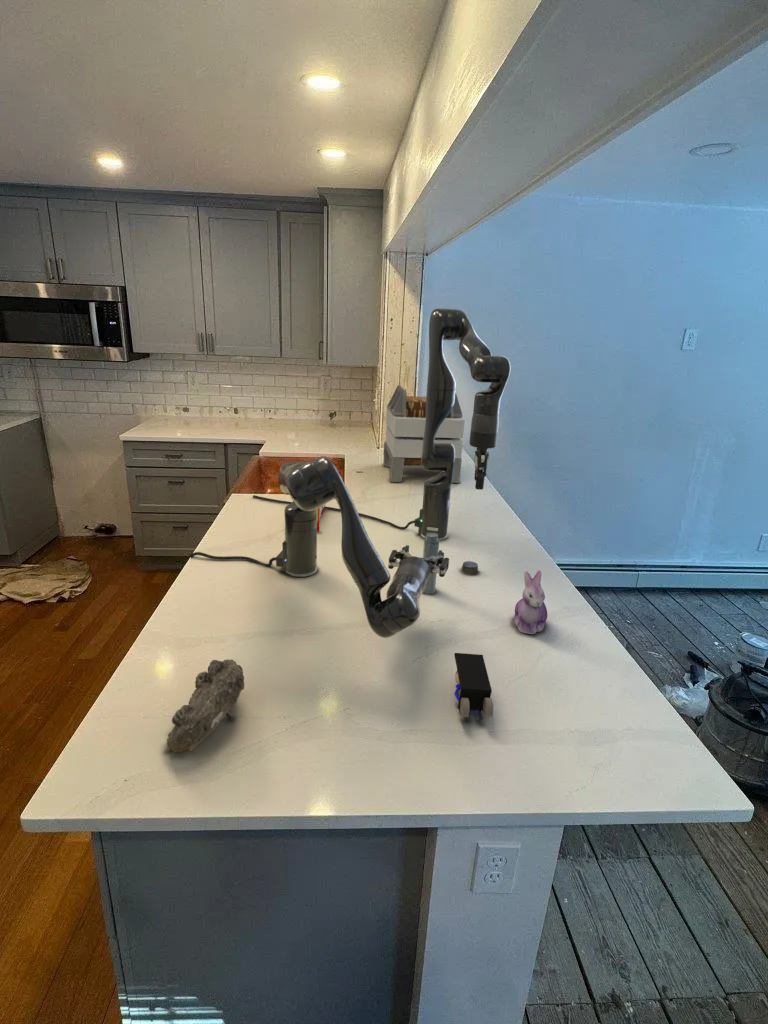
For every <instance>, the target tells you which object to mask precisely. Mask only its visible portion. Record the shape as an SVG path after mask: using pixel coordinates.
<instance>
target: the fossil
mask: <svg viewBox="0 0 768 1024" xmlns="http://www.w3.org/2000/svg"><path fill="white" fill-rule="evenodd" d="M243 670H244V669H243V667H242V665H240V664H237V662H236V661H235V660H234V659H232V658H231V659H227V658H226V659H224V660H223V661H222V660H217V659H212V660H211V661H210V663H209V665H208V666H207V671H201V672H199V673H198V674H197V675H196V676H195V680H194V684H195V685H194V687H195V689H194V690H193V693H192V694H191V697H190V698H189V700H188V704H184V705H182V706H181V707H180V709H177V710H176V711H175V713H174V715H173V716H172V718H171V723H172V724H173V727H172V730H171V731H170V732H168V734H167V738H166V741H167V742H166V745H167V749H168V750H169V751H173V752H174V753H176V754H178V753H182V752H188V751H189V752H192V751H193V750H195V748H196V747H197V746H199V744H200V743H201V742H203V741H204V740H205V739H206V738H207V737H208V736H209V735H210V734H211V733H212V732H214V730H215V729H217V727H218V726H219V724H220V722H221V721H222V720H223V719H224V718H225V716H226V717H227V719H229V720H233V717H232V715H230V714H229V710H230V709H231V708H234V706H235V704H236V703H237V702H238V699H239V697H240V695H241V693H242V691H243V690H245V689H244V688H245V675H244V671H243Z"/></svg>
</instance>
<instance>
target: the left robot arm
mask: <svg viewBox="0 0 768 1024" xmlns="http://www.w3.org/2000/svg"><path fill="white" fill-rule="evenodd" d="M278 485H279V489H280V491H281V493H282V494H284V495H286V496H290V498H291V500H292V502H293V501H294V502H293V503H291V504H286V505H285V508H284V540H283V541H282V544H281V545H282V546H281V547H282V548H281V549H282V550H281V551H280V552H279V553H278V554H277V555H276V556H275V557H271V558H270V559H269V561H268V563H264V562H261V561H260V560H258V559H256V558H252V557H249V556H239V555H238V556H237V555H233V556H232V555H231V556H219V555H218V556H216V555H211V554H208V553H205V552H201V551H195V552H192V553H190V554H189V555H188V558H193V557H195V556H202V557H204V558H208V559H210V560H218V561H219V560H222V561H223V560H243V561H244V560H245V561H250V562H252V563H254V564H257V565H261V566H263V567H265V568H266V567H268V568H269V567H271V566H272V565H273V562H274V561H275V567H277V568H278V567H279V568H282V572H283V573H285V574H287V575H289V576H290V577H291V576H292V577H297V578H298V577H299V578H305V577H310V576H313V575H315V574H316V573H317V572H318V550H317V549H318V538H317V537H318V532H317V508H319V507H321V506H322V505H324V504H326V505H327V504H328V503H330V502H332V501H333V500H335V501H336V503H337V506H338V509H340V511H339V512H340V517H341V546H340V547H341V557H342V561H343V564H344V566H345V568H346V569H347V571H348V574H349V575H350V576H351V578H352V580H353V582H354V583H355V586H356V588H357V589H358V591H359V594H360V597H361V602H362V604H363V609H364V611H365V617H366V619H367V622H368V623H367V624H368V626H369V627H370V629H371V630H372V632H373V633H374V634H375V635H377V636H378V637H380V638H382V639H388V638H391V637H392V636H394V635H396V634H398V633H400V632H402V631H403V630H406V629H407V628H408V627H409V628H410V627H411V626H412V625H414V624H415V623H416V622H417V621H418V620H419V618H420V616H421V609H420V598H421V596H422V594H424V593H423V591H424V589H425V588H426V584H427V582H428V579H429V577H430V575H431V574H432V573H433V572H434V573H437V574H438V576H439V577H440V578H444V577H445V575H446V574H447V572H448V569H449V564H450V558H449V557H445V552H444V551H443V550H441V549H439V551H438V555H437V556H436V557H433V556H430V557H427V558H423V557H419V556H414V555H412V554H411V553H410V545H409V544H405V546H403V547H402V548H401V549H400V550H399V551H398V550H397V549H392V550H391V553H390V555H389V557H388V565H387V567H386V564H385V563H384V561H383V560H382V558H381V556H380V555H379V552H378V551H377V550H376V548H375V546H374V544H373V543H372V541H371V538H370V537H369V535H368V532H367V530H366V527H365V526H364V523H363V521H362V519H361V516H360V515H359V514H358V513H359V512H358V509H357V507H356V505H355V503H354V500H353V498H352V495H351V494H350V492H349V490H348V488H347V486H346V483H345V482H344V480H343V478H342V476H341V474H340V472H339V470H338V468H337V467H336V466H335V464H334V463H333V462H332V460H331V459H330V458H329V457H327V456H324V455H323V456H319V457H317V458H314V459H313V460H310V461H293V462H292V461H288V462H284V463H282V464H281V466H280V468H279V469H278ZM436 561H437V563H436ZM394 568H397V569H396V571H395V573H394V574H393V577H392V579H391V574H390V572H389V570H388V569H390V570H392V569H394ZM391 580H392V581H391ZM390 581H391V583H390V584H389V582H390ZM388 584H389V586H388V588H387V592H386V594H385V595H386V598H385V599H384V600H382V595H381V592H382V590H383V589H384V587H386V586H387V585H388Z"/></svg>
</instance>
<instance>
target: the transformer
mask: <svg viewBox="0 0 768 1024" xmlns="http://www.w3.org/2000/svg"><path fill="white" fill-rule="evenodd" d="M407 394H408V393H407V390H406V389H404V388H403V387H402V385H399V384H398V385H397V386H396V388H395V390H394V392H393V394H392V395H391V398H390V400H389V402H388V404H387V405H386V413H385V414H386V415H385V423H386V428H385V438H384V442H383V466H384V467H388V468H389V475H388V476H389V477H388V478H389V480H390V482H391V483H402V482H403V475H404V469H405V466H406V467H407V466H411V467H412V466H413V467H415V466H416V467H417V466H418V467H422V463H421V454H422V445H423V438H424V430H425V419H426V396H415V395H414V396H413V395H412V396H411V395H407ZM464 429H465V419H464V418H463V411H462V408H461V405H460V402H459V398H458V395H457V392H455V402H454V406H453V408H452V410H451V411H450V413H449V414H448V416H447V417H446V418H445V420H444V421H443V422H442V424H441V425H440V427H439V429H438V431H437V433H436V436H435V440H434V443H450V444H452V445H453V446H454V449H455V463H454V469H453V477H452V484H455V483H456V484H459V483H461V472H462V461H463V460H462V453H463V442H464V441H463V440H462V439H463V438H464V431H465V430H464ZM440 472H441V471H439V473H440Z"/></svg>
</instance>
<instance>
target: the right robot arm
mask: <svg viewBox="0 0 768 1024" xmlns="http://www.w3.org/2000/svg"><path fill="white" fill-rule="evenodd" d="M457 340H458V341H459V343H458V344H459V345H458V351H459V354H460V356H461V357H462V359H463V360H464V361H465V362H466V363H467V365H468V368H469V372H470V376H471V378H472V379H473V380H474V381H475V382H477V383H490V385H489V387H488V388H486V389H484V390H480V391H477V392H476V393H475V395H474V402H473V412H472V416H471V417H472V418H471V421H470V422H471V423H470V432H469V446H470V447H472V448H476V449H475V451H474V453H473V454H474V455H473V456H474V459H473V461H474V462H473V463H474V481H475V485H474V487H475V489H476V490H483V489H484V487H485V486H484V485H485V477H486V476H487V470H488V465H489V461H490V453H489V451H488V449H494V448H496V446H497V444H498V443H497V442H498V434H499V426H500V417H499V416H500V407H501V399H502V397H503V394H504V391H505V388H506V386H507V383H508V380H509V379H510V375H511V368H512V367H511V362H510V360H509V359H508V358H507V357H506V356H504V355H492V351H491V349H490V347H489V346H487V344H486V343H485V342H484V341H483V340H482V339H481V338H480V337H479V336H478V334H477V332H476V330H475V328H474V327H473V324H472V323H471V321H470V319H469V317H468V316H467V314H466V313H465V312H464V311H463V310H461V309H457V308H441V307H440V308H439V307H438V308H437V307H436V308H434V309H433V310H432V311H431V313H430V315H429V323H428V370H427V371H428V372H427V383H426V393H425V394H426V396H425V397H426V419H425V430H424V438H423V445H422V454H421V463H422V466H421V467H422V469H423V470H424V471H427V472H429V471H430V472H438V473H437V474H435V475H434V476H431V477H429V478H427V479H425V480H424V482H423V493H422V496H423V497H422V506H421V508H420V509H419V516H418V517H417V518H414V520H410V521H408V522H407V524H406V525H405V526H399V525H396V524H394V523H393V522H391V521H389V520H388V521H387V520H385V519H382V518H378V517H375V516H373V515H369V514H365V513H361V512H358V514H359V516H360V517H364V518H368V519H371V520H374V521H378V522H380V523H383V524H387V525H389V526H391V527H393V528H396V529H399V530H407V529H408V528H409V526H410V525H413V524H414V527H416V528H418V530H417V535H418V536H420V538H421V539H424V540H426V534H427V533H431V532H432V533H436V534H438V539H437V541H439V542H440V541H444V540H446V539H447V538H448V525H449V517H450V516H449V514H450V504H451V494H452V493H451V491H452V484H453V483H452V477H453V469H454V463H455V449H454V446H453V445H452V444H450V443H434V440H435V436H436V433H437V431H438V429H439V427H440V425H441V424H442V422H443V421H444V420H445V418H446V417H447V416H448V414H449V413H450V411H451V410H452V408H453V406H454V402H455V393H456V389H457V383H456V379H455V377H454V375H453V372H452V371H451V369H450V367H449V365H448V362H447V360H446V358H445V355H444V347H443V342H444V341H457ZM440 471H441V472H440ZM252 498H254V499H259V500H262V501H270V502H274V503H281V504H286V505H289V504H291V503H293V501H287V500H281V499H274V498H268V497H264V496H258V495H254V494H253V495H252ZM324 507H325V509H324V510H330V511H336V512H341V511H340V508H338V507H332V506H326V505H325V506H324Z"/></svg>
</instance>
